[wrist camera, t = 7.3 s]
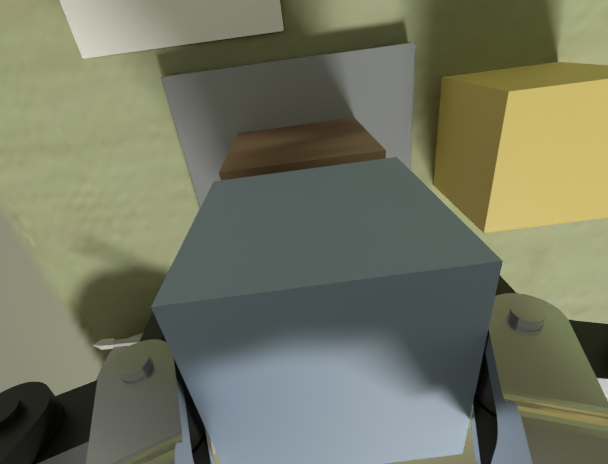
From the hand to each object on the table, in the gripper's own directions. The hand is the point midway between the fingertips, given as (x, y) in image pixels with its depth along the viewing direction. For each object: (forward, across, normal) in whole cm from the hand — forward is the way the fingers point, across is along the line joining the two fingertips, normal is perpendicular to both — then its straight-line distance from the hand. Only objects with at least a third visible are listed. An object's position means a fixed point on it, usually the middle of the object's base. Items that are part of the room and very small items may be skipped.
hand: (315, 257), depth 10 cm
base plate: (+7, 0, 0) cm, 7 cm away
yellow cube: (+7, -9, -1) cm, 12 cm away
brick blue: (0, 0, 0) cm, 0 cm away
